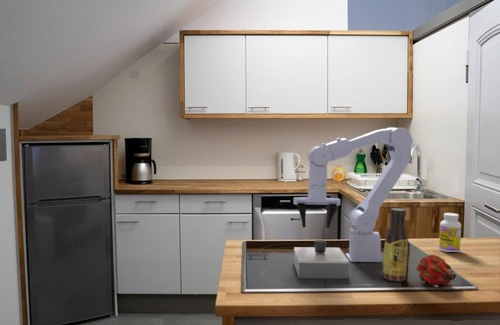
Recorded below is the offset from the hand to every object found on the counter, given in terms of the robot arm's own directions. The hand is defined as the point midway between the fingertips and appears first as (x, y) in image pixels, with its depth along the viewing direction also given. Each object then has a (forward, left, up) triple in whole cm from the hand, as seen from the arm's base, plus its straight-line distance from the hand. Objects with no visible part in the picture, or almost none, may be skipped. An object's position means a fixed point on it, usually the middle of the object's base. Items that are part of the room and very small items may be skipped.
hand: (315, 227), depth 149 cm
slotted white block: (0, +11, -10) cm, 15 cm away
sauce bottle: (-20, +18, -11) cm, 29 cm away
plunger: (0, +11, -9) cm, 15 cm away
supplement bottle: (-48, -11, -11) cm, 50 cm away
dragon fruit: (-30, +22, -11) cm, 39 cm away
